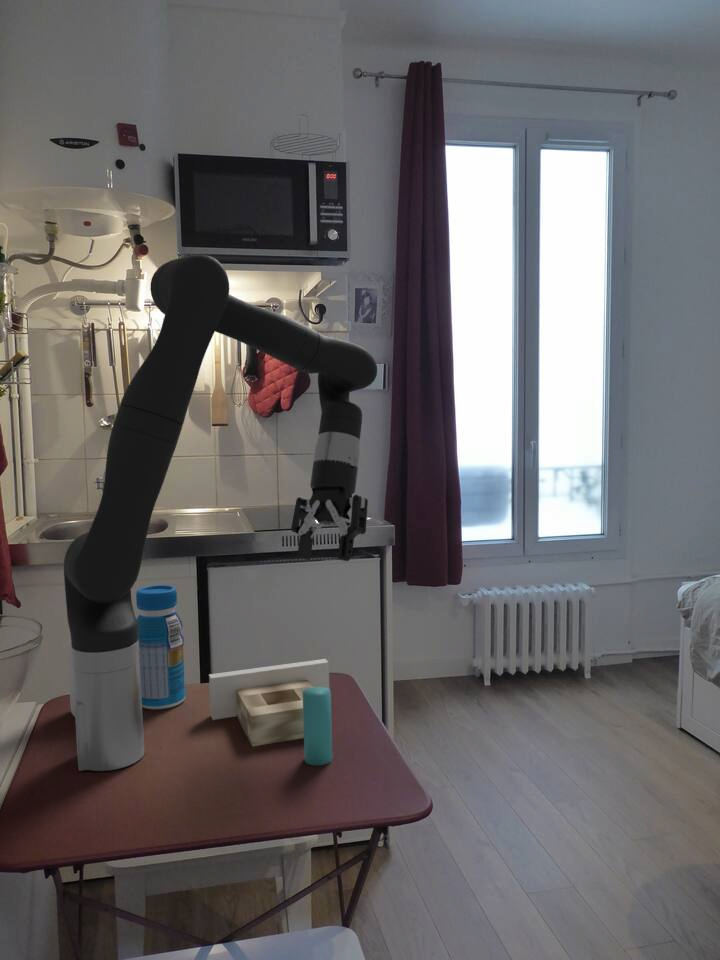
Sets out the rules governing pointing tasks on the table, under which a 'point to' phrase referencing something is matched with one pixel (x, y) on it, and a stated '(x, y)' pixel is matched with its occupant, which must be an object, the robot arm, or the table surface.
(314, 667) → the backstop wall
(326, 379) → the robot arm
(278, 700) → the socket block
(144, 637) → the beverage bottle
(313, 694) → the teal rounded cylinder
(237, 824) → the table surface
